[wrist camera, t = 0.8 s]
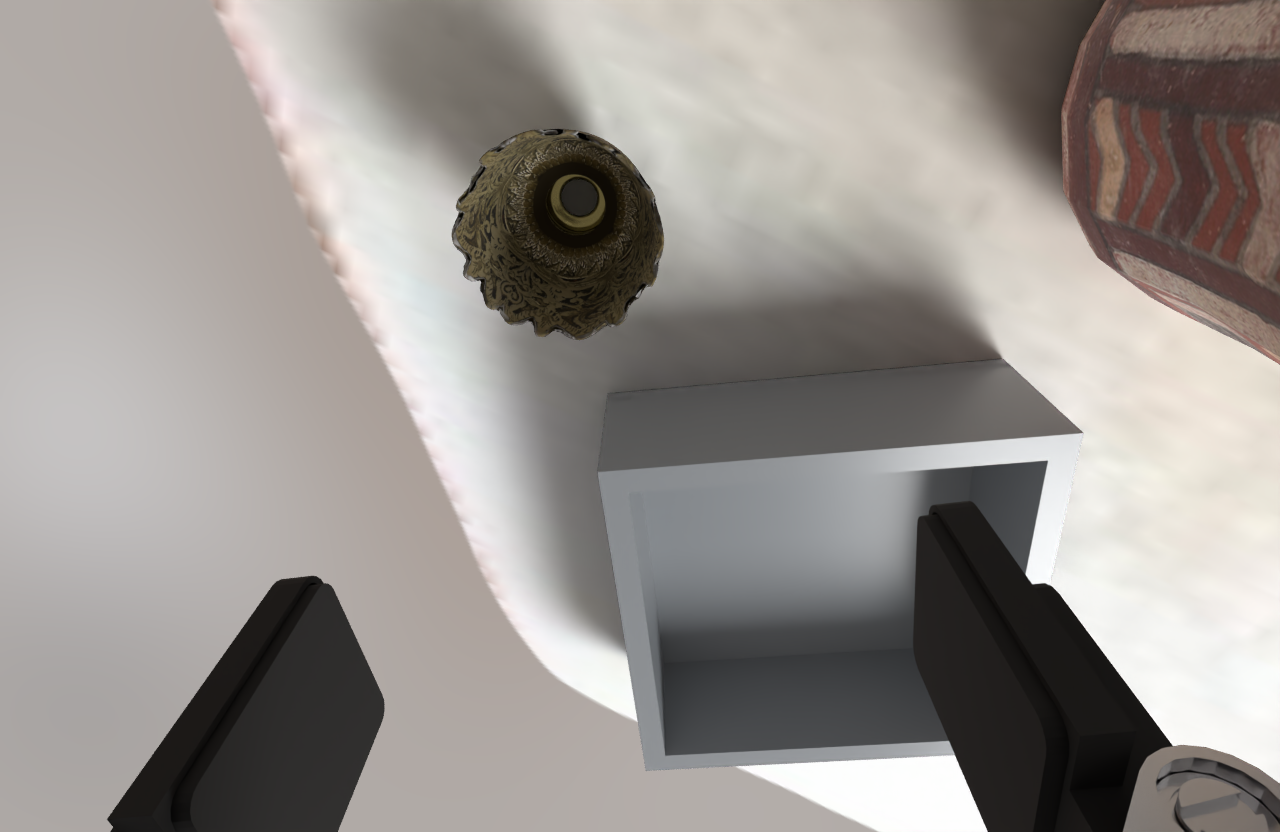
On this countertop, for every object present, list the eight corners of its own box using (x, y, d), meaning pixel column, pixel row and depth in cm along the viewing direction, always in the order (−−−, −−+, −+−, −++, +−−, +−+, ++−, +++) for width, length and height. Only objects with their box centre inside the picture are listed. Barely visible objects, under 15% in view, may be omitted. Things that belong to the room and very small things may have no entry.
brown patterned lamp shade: (562, 68, 29) (533, 78, 22) (695, 184, 31) (706, 227, 24) (466, 209, 32) (413, 257, 25) (594, 307, 34) (577, 376, 27)
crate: (607, 393, 36) (597, 472, 30) (1003, 358, 35) (1083, 433, 28) (647, 665, 46) (645, 770, 39) (960, 646, 44) (1012, 752, 38)
